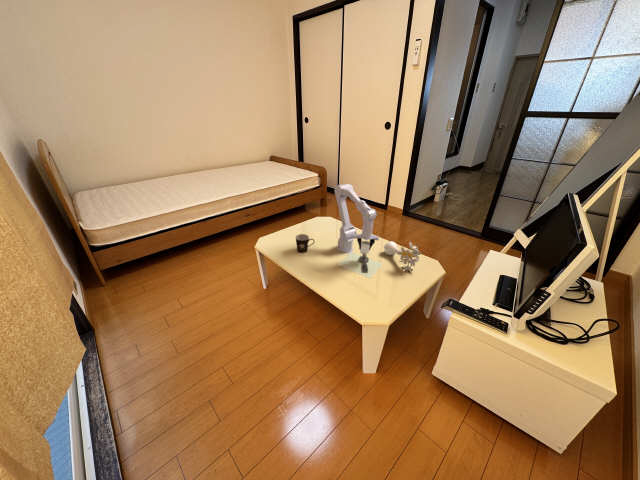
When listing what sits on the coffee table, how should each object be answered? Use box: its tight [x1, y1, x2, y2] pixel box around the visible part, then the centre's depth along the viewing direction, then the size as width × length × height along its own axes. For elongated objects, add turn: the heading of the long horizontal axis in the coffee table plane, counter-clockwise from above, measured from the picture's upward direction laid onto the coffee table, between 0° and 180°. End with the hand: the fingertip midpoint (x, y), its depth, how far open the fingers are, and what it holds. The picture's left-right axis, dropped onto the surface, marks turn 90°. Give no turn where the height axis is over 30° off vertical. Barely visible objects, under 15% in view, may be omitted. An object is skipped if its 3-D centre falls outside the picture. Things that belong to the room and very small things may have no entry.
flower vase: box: [383, 240, 421, 271], centre depth 153 cm, size 13×18×25 cm
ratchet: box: [359, 253, 370, 273], centre depth 149 cm, size 16×6×4 cm, turn 176°
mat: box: [337, 251, 383, 279], centre depth 151 cm, size 22×18×1 cm
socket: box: [359, 240, 370, 255], centre depth 149 cm, size 5×5×6 cm
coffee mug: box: [295, 233, 315, 254], centre depth 160 cm, size 12×9×10 cm
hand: (364, 249), depth 150 cm, fingers closed on socket, 5 cm apart
